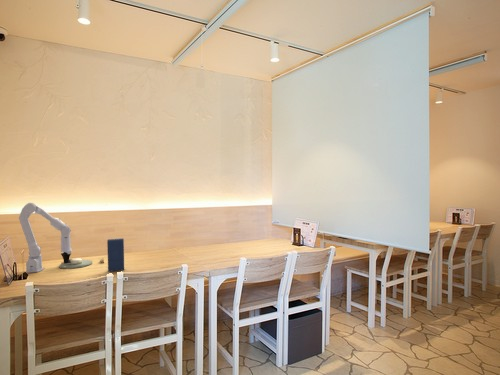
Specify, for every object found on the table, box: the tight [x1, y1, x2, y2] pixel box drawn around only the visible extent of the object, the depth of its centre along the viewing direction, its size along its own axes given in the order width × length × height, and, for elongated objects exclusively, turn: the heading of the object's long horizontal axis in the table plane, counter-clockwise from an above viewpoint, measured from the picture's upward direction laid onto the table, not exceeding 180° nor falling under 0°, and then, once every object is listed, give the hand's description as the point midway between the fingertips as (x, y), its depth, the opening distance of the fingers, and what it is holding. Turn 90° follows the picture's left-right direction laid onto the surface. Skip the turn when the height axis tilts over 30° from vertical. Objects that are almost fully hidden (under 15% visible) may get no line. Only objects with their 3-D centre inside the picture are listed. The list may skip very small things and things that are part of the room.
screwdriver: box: [99, 257, 105, 264], centre depth 229 cm, size 12×2×2 cm, turn 23°
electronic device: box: [106, 237, 125, 273], centre depth 204 cm, size 10×5×20 cm, turn 109°
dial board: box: [58, 259, 93, 270], centre depth 220 cm, size 20×20×2 cm
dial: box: [64, 257, 83, 264], centre depth 219 cm, size 11×7×3 cm, turn 107°
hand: (66, 263), depth 216 cm, fingers closed, pressing on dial
